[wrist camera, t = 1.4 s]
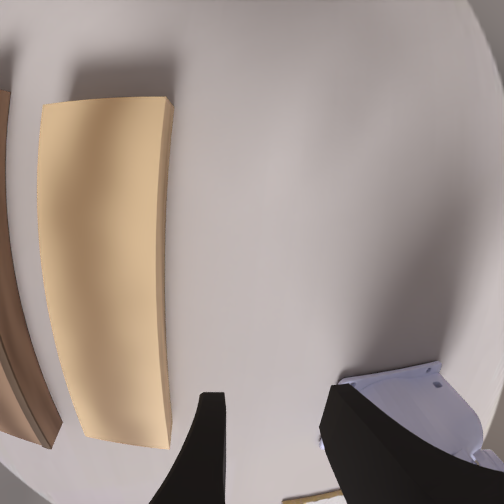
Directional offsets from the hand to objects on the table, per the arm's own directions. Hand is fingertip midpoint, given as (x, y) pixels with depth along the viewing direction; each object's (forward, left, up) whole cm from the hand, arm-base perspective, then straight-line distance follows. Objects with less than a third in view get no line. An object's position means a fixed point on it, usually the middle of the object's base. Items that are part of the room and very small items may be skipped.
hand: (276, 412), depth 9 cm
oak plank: (+8, 0, -9) cm, 12 cm away
